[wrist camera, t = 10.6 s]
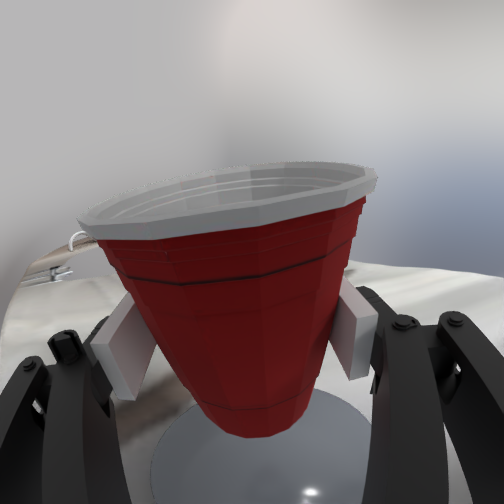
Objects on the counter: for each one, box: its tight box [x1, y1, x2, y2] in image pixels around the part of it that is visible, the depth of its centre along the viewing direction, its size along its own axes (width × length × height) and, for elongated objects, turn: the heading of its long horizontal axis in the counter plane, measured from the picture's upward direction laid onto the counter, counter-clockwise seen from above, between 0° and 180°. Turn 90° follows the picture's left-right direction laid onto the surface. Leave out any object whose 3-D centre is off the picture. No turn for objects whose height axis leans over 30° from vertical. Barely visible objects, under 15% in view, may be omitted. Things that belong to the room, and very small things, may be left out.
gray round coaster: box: [150, 388, 371, 504], centre depth 16 cm, size 18×18×2 cm
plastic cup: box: [77, 162, 378, 439], centre depth 11 cm, size 11×11×12 cm
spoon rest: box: [69, 231, 97, 251], centre depth 107 cm, size 24×12×7 cm, turn 142°
